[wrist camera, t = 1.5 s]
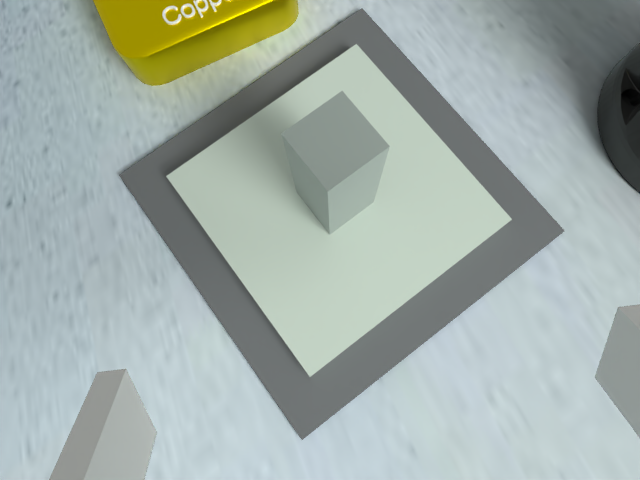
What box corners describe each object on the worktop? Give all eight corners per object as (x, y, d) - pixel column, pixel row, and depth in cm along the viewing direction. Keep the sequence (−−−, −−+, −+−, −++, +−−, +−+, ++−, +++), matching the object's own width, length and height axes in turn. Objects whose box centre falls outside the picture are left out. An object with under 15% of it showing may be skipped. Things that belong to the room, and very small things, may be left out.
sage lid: (355, 53, 37) (364, -65, 26) (505, 223, 33) (587, 169, 22) (171, 181, 35) (98, 112, 24) (310, 375, 31) (298, 395, 21)
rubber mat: (361, 11, 38) (362, 8, 37) (561, 232, 33) (564, 230, 33) (121, 176, 35) (119, 175, 35) (302, 438, 31) (302, 439, 30)
